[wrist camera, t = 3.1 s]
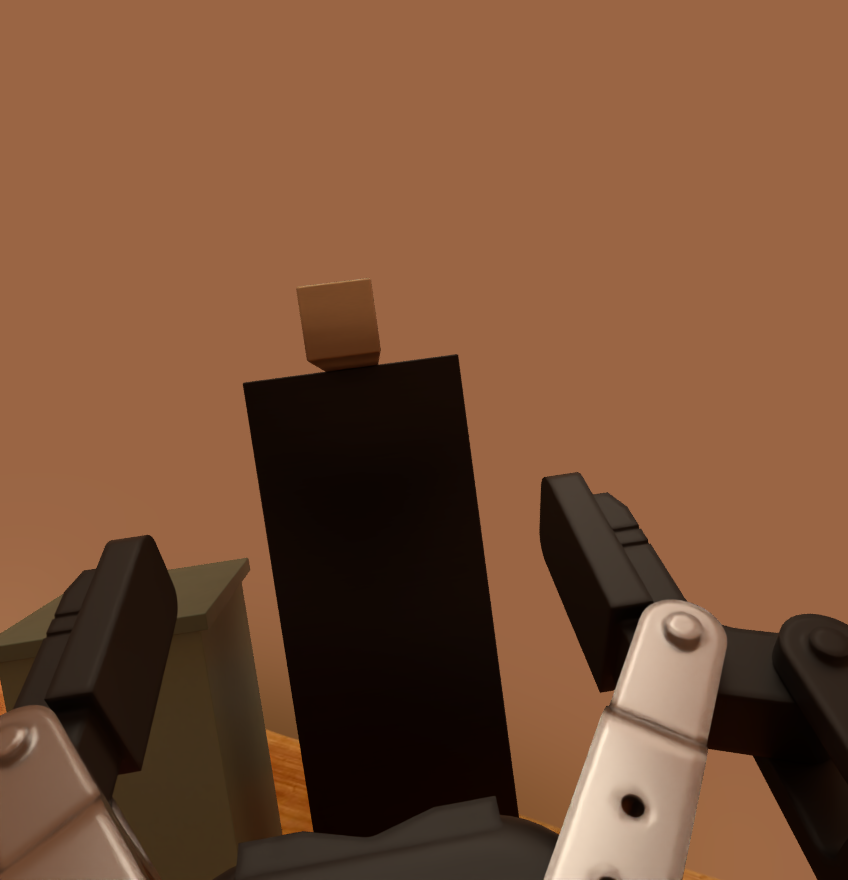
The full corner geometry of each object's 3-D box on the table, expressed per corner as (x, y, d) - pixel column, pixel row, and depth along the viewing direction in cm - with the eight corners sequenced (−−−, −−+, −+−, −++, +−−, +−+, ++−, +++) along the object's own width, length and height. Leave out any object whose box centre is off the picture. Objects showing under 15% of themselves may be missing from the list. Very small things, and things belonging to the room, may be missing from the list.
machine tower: (541, 985, 32) (458, 354, 30) (344, 1027, 31) (242, 382, 29) (507, 869, 40) (439, 363, 38) (349, 899, 39) (270, 386, 37)
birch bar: (381, 352, 21) (370, 277, 21) (307, 361, 21) (295, 286, 21) (376, 374, 41) (371, 336, 41) (338, 379, 41) (332, 340, 41)
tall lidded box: (280, 1061, 30) (205, 613, 28) (63, 1106, 29) (-27, 649, 28) (302, 896, 40) (248, 557, 38) (141, 927, 39) (78, 583, 38)
